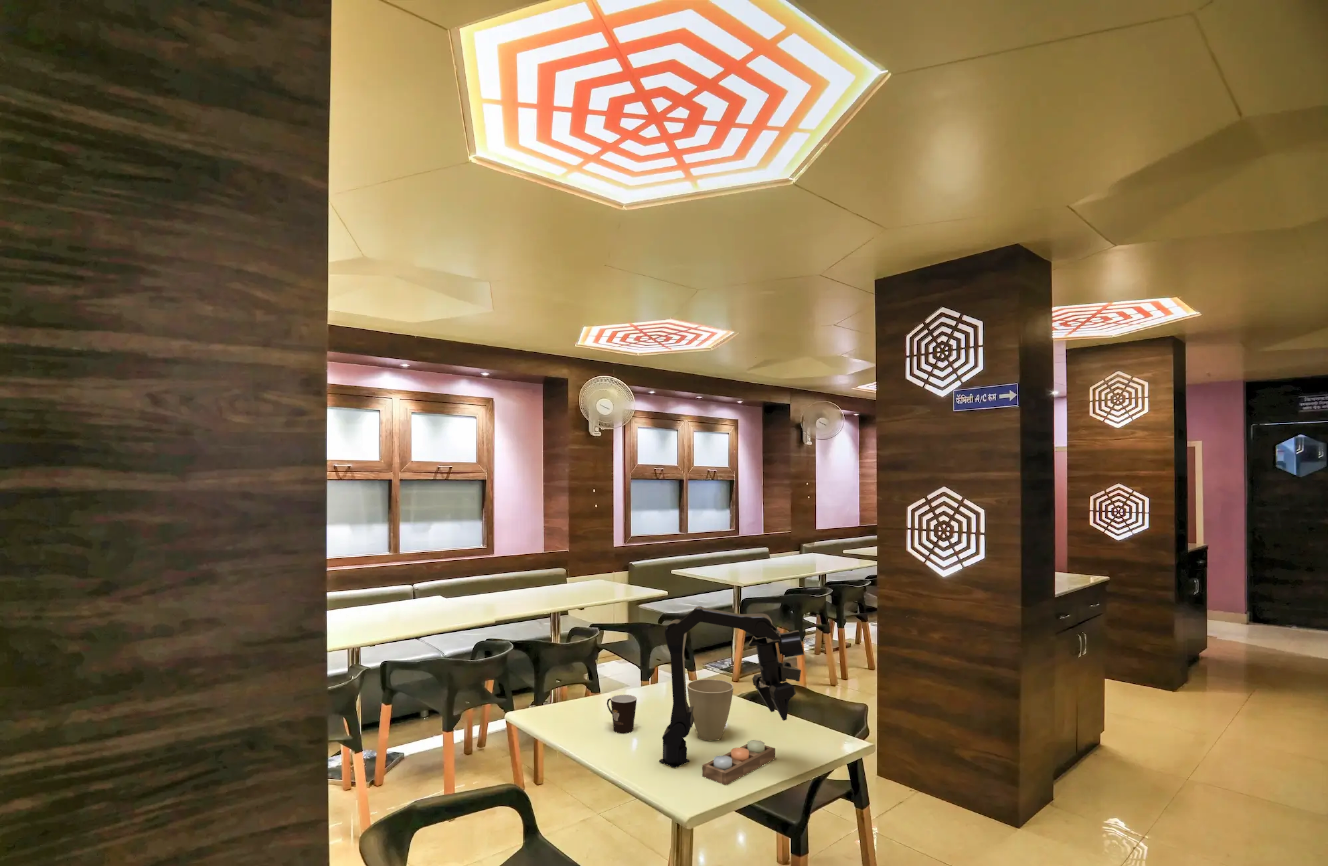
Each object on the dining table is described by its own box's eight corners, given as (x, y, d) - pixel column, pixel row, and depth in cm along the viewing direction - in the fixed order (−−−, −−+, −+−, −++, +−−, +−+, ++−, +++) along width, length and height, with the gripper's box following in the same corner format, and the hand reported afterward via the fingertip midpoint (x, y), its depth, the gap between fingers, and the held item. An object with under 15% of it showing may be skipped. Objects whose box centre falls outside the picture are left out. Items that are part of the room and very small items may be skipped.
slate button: (710, 770, 179) (709, 759, 179) (721, 765, 183) (721, 754, 183) (724, 775, 176) (724, 764, 176) (735, 770, 179) (735, 758, 180)
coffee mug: (640, 732, 212) (640, 700, 213) (614, 736, 209) (615, 703, 210) (628, 721, 223) (629, 691, 224) (604, 724, 220) (604, 693, 221)
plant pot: (678, 740, 206) (679, 687, 207) (698, 725, 219) (698, 676, 220) (722, 749, 199) (722, 694, 200) (740, 733, 212) (740, 682, 213)
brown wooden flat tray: (702, 776, 179) (702, 765, 179) (752, 751, 197) (752, 741, 197) (725, 785, 174) (725, 773, 174) (775, 759, 191) (775, 748, 191)
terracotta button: (727, 762, 185) (727, 751, 185) (738, 757, 189) (737, 746, 189) (742, 767, 182) (741, 755, 182) (752, 761, 185) (752, 750, 186)
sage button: (744, 754, 191) (744, 743, 191) (753, 749, 195) (753, 738, 195) (758, 758, 188) (758, 747, 188) (768, 753, 191) (767, 743, 191)
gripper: (807, 659, 180) (818, 718, 178) (782, 648, 198) (792, 701, 196) (770, 668, 177) (780, 727, 175) (747, 656, 195) (757, 710, 193)
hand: (778, 715), depth 185 cm, fingers open, 9 cm apart
